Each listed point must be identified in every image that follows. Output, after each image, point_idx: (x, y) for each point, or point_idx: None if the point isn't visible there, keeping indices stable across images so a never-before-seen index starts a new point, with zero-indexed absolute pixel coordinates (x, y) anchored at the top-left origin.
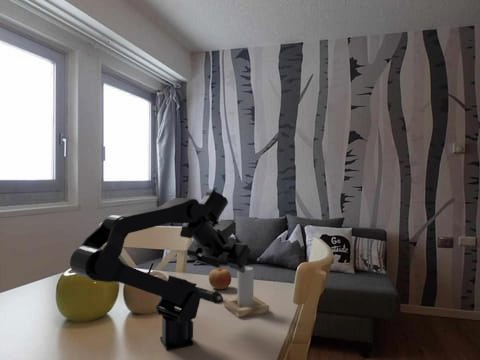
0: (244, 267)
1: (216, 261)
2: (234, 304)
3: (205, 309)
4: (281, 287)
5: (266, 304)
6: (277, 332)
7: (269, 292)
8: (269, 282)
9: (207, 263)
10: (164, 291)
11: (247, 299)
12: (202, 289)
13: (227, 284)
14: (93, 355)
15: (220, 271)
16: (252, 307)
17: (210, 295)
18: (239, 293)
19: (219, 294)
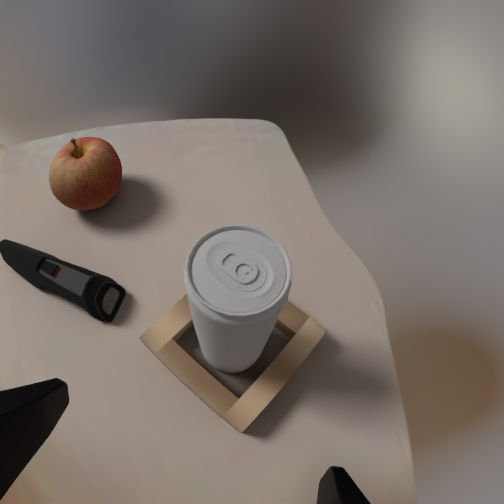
0: (360, 499)
1: (32, 415)
2: (197, 373)
3: (93, 391)
4: (267, 143)
5: (314, 324)
6: (396, 465)
7: (250, 180)
8: (223, 123)
9: (4, 493)
10: None
11: (253, 358)
12: (43, 266)
13: (114, 191)
14: None
15: (78, 163)
16: (279, 376)
17: (77, 301)
18: (215, 355)
19: (106, 288)
